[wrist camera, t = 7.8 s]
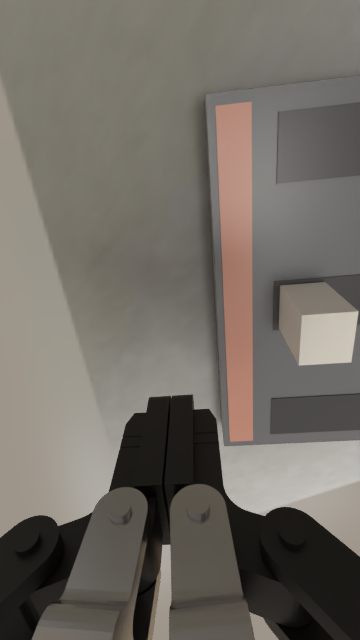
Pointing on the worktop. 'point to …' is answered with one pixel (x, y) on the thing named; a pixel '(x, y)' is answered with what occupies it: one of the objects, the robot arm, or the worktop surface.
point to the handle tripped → (317, 323)
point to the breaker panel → (283, 252)
